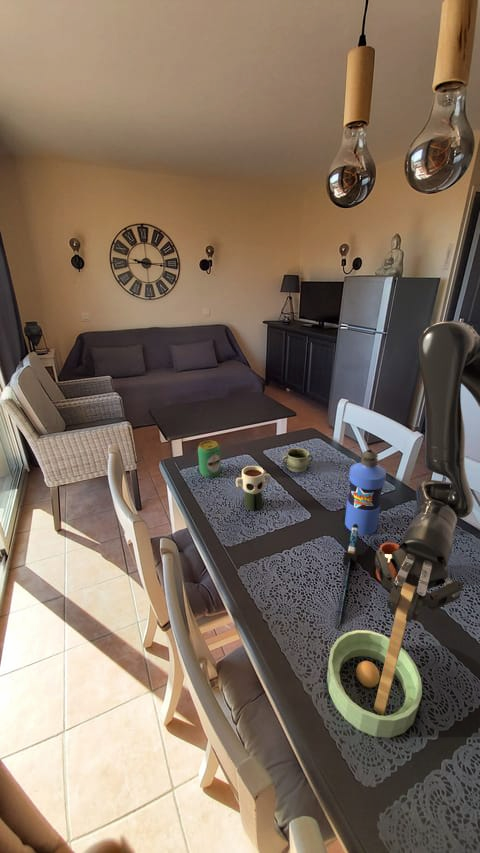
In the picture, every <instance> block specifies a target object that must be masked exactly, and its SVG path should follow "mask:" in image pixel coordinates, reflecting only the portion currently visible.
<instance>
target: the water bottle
mask: <svg viewBox="0 0 480 853" xmlns="http://www.w3.org/2000/svg"><path fill="white" fill-rule="evenodd" d="M378 457H379V456H378V454H377V453H376V452H375V450H374V449H366V450H365V451H364V452H362V455H361V457H360V458H361V459H360V462H356V463H354V464H352V465H350V469H349V476H348V479H349V480H348V481H349V493H348V496H347V499H346V506H345V507H346V508H345V517H344V526H345V527H346V528H347V529H348V530H349V531H350V532H352V531H351V530H352V527H353V525H354V524H357V525H358V535H362V536H368V535H372V534H374V533H376V531H377V530H378V523H379V517H380V510H381V495H382V491H383V489H384V486H385V483H386V477H387V472H386V469H384V467H382V466H381V465H378V461H379V459H378Z"/></svg>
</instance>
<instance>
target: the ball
mask: <svg viewBox="0 0 480 853" xmlns="http://www.w3.org/2000/svg"><path fill="white" fill-rule="evenodd" d="M355 673H356V678H357V680H358V682H359V683H360V684H361V685H362V686H363V687H366V688H375V687H376V686H377V685H379V683H380V679H381V676H380V671H379V669H378V667H377V666H376V664H374V663H373V662H372V661H369V660H363V661H361V662H359V663H358V664H357V666H356V671H355Z"/></svg>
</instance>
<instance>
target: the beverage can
mask: <svg viewBox="0 0 480 853" xmlns="http://www.w3.org/2000/svg"><path fill="white" fill-rule="evenodd" d="M197 455H198V466H199V473H200V474H202V475H201V476H202V477H203V476H204V477H203V478H206V477H209V478H208V479H212V478H211V477H213V478H217V477H218V476H219V475H220V473H221V471H222V464H221V448H220V445H219V444H218V442H217V441H215V440H205V441H202V442H200V443H199V445H198V447H197Z"/></svg>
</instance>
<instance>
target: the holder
mask: <svg viewBox="0 0 480 853" xmlns="http://www.w3.org/2000/svg"><path fill="white" fill-rule="evenodd" d="M399 545H400V544H398V543H395V542H390V541H389V542H383V543H382V544H381V545H380V546H379V549H378V550H382V551H383V552H384V554H392V553H393V552H394V551H396V550H397V549H398V548H399ZM389 568H390V570H391V573H392V577H393V578H395V579H396V578H397V576H398V574H397V572H396V570H395V568H394V566H393V564H392V562H391V563H390V565H389ZM375 576H376V578H377V579H378V580H379V581H380V582H381V580H380V577H379V574H378V571H377V568H376V567H375Z"/></svg>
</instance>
